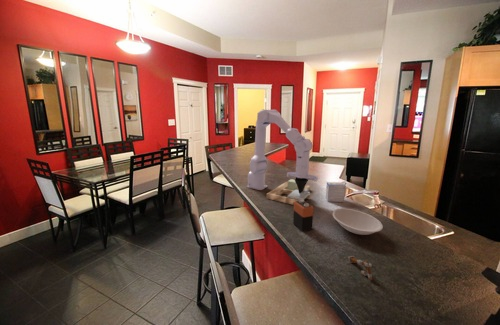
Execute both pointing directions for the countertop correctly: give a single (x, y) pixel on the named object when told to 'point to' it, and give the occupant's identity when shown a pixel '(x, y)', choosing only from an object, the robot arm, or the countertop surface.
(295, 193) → the lid
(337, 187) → the medicine box
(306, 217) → the battery
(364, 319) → the countertop surface
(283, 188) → the puzzle board
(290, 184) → the block
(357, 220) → the dish
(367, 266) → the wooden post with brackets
